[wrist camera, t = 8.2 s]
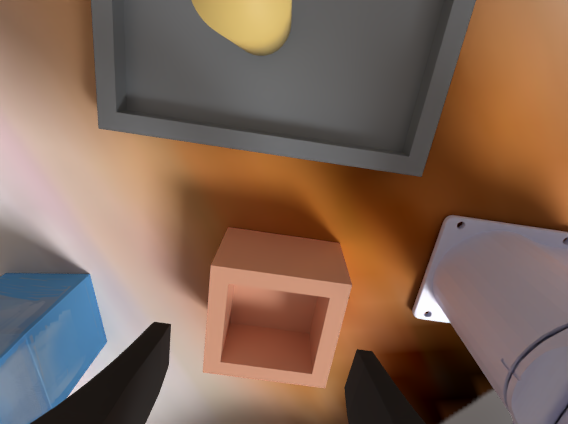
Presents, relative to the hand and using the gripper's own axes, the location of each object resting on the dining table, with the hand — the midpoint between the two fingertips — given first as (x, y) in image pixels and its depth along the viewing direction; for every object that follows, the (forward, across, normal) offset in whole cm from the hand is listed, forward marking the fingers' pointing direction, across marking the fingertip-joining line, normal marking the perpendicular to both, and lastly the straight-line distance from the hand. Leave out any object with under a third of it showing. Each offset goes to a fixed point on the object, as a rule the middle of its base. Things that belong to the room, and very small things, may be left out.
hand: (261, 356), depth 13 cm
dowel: (+10, +2, -12) cm, 16 cm away
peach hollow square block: (+10, -1, +3) cm, 11 cm away
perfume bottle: (+11, +15, +9) cm, 21 cm away
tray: (+10, +2, -12) cm, 16 cm away
